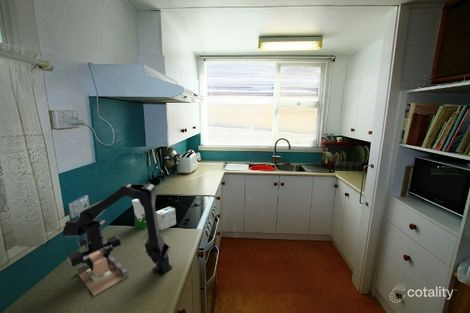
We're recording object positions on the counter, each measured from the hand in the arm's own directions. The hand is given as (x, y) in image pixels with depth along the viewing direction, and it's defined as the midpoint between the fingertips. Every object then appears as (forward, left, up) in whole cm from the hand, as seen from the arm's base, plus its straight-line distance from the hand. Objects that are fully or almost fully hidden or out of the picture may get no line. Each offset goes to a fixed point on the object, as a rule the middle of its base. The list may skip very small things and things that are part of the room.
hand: (98, 267), depth 93 cm
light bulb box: (+13, -43, -3) cm, 45 cm away
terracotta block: (0, 0, -1) cm, 1 cm away
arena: (-2, 0, -3) cm, 4 cm away
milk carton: (+25, -34, -3) cm, 42 cm away
